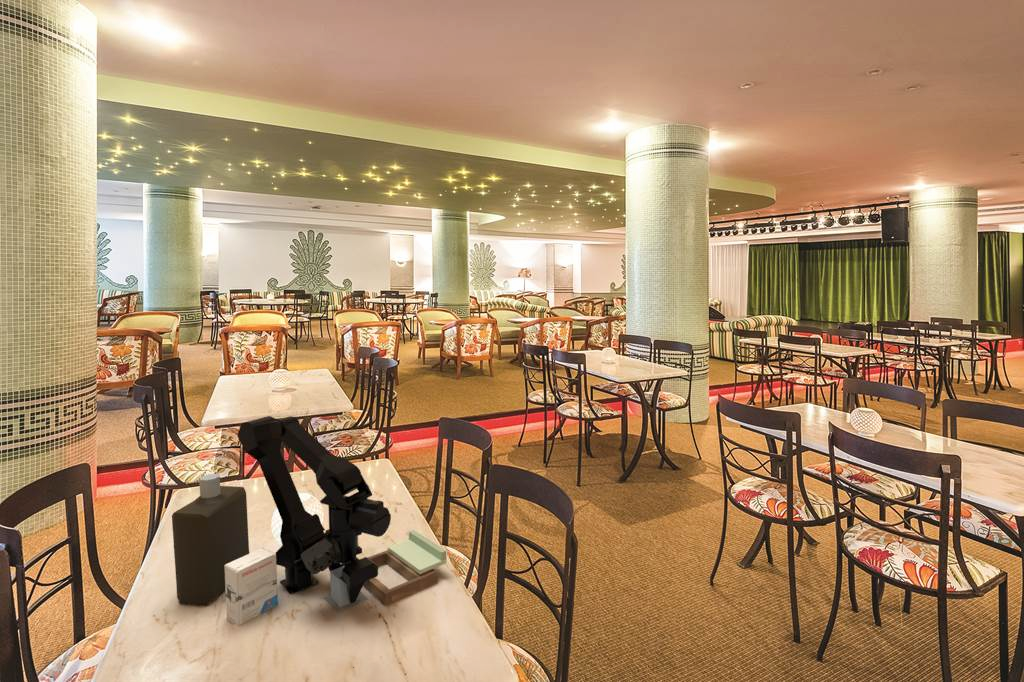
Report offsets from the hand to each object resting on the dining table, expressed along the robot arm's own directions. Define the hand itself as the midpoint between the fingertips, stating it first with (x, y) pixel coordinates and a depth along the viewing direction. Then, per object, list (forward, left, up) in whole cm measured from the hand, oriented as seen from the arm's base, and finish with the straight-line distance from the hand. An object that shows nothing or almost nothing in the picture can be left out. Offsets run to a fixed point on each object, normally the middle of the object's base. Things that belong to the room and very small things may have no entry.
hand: (345, 595), depth 115 cm
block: (0, 0, -1) cm, 1 cm away
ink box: (-8, -16, -1) cm, 18 cm away
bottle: (-24, -19, -1) cm, 31 cm away
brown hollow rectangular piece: (0, +12, -1) cm, 12 cm away
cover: (0, +18, +2) cm, 18 cm away
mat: (0, 0, -1) cm, 1 cm away
